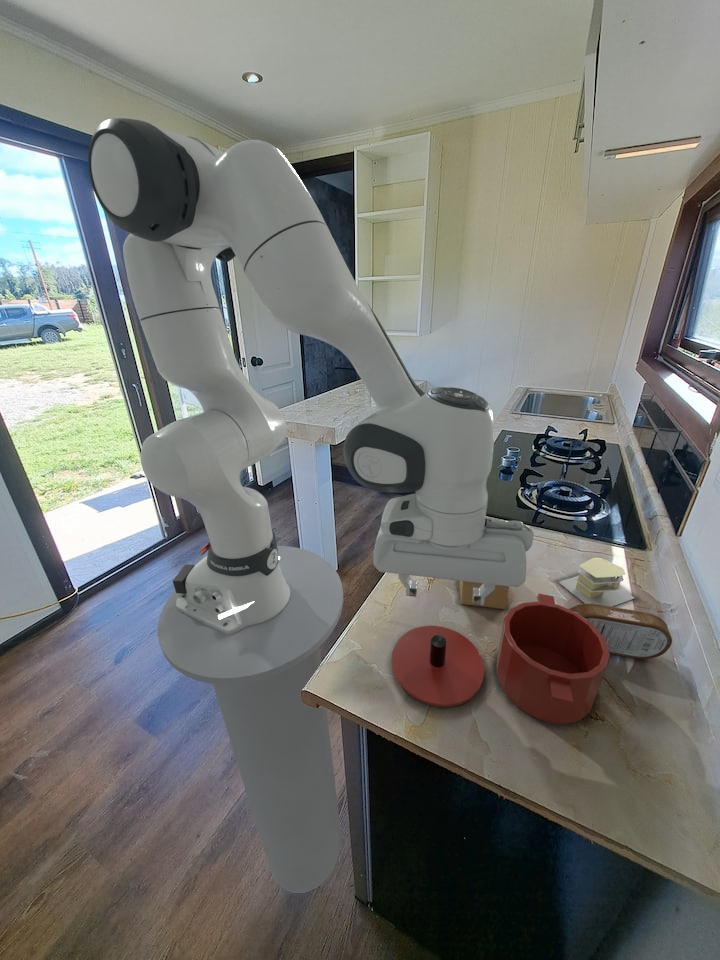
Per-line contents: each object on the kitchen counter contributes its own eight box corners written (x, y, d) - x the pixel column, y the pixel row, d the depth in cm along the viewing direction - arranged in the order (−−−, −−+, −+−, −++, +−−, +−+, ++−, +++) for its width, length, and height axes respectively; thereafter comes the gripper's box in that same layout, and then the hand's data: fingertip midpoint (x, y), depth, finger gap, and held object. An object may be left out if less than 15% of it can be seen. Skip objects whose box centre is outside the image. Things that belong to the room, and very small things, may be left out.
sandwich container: (497, 559, 86) (506, 501, 79) (506, 609, 72) (518, 544, 66) (458, 555, 88) (463, 498, 81) (459, 603, 74) (466, 539, 68)
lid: (381, 694, 58) (381, 669, 56) (402, 622, 70) (402, 599, 68) (482, 721, 54) (486, 696, 51) (484, 640, 66) (488, 616, 64)
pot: (496, 727, 53) (505, 681, 49) (496, 624, 69) (503, 583, 65) (607, 757, 49) (627, 711, 45) (580, 641, 65) (592, 599, 61)
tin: (657, 651, 63) (674, 613, 59) (665, 667, 60) (683, 629, 57) (557, 632, 67) (567, 596, 63) (560, 647, 64) (571, 610, 61)
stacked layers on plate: (595, 612, 71) (603, 589, 69) (558, 582, 79) (563, 560, 76) (635, 598, 74) (643, 575, 71) (595, 570, 81) (601, 549, 79)
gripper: (531, 509, 50) (517, 591, 56) (377, 499, 54) (379, 575, 61) (540, 537, 45) (523, 624, 51) (369, 522, 49) (372, 604, 55)
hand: (444, 597), depth 56 cm, fingers open, 8 cm apart
